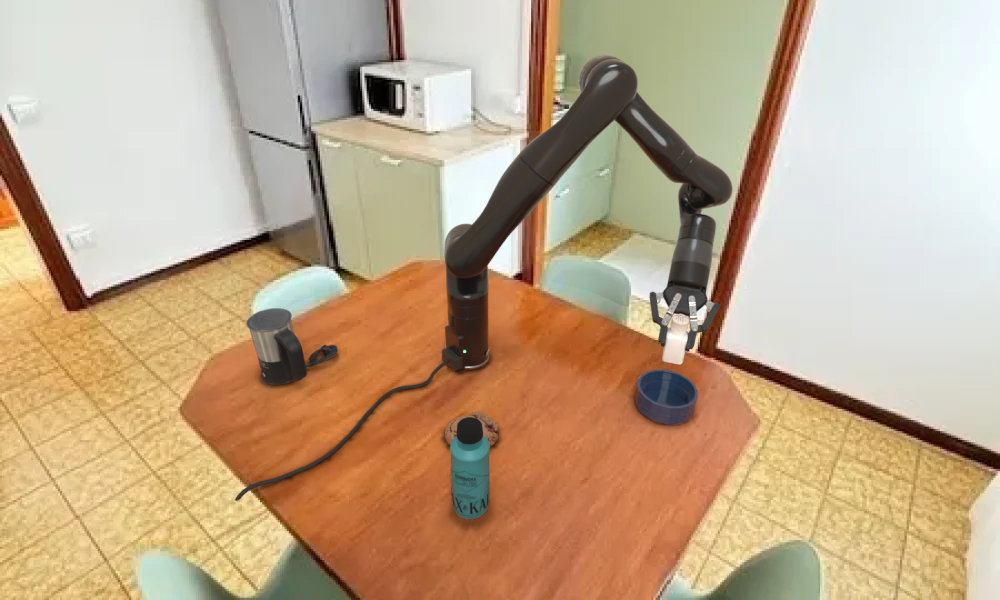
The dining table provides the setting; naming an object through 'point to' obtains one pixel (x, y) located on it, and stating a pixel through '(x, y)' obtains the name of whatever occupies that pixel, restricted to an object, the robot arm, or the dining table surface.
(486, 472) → the beverage bottle
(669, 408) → the bowl
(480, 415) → the cookie
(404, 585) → the dining table surface
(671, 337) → the salt shaker
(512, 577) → the dining table surface
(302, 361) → the milk frother
